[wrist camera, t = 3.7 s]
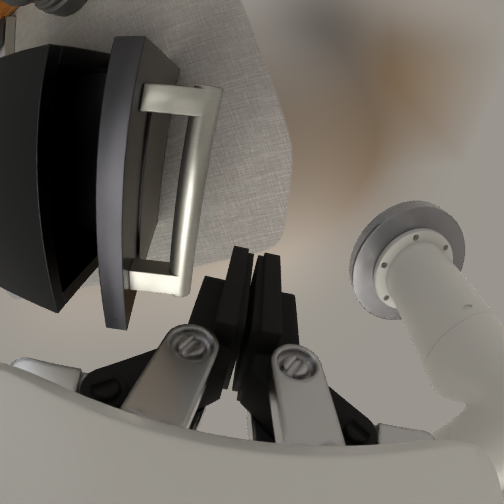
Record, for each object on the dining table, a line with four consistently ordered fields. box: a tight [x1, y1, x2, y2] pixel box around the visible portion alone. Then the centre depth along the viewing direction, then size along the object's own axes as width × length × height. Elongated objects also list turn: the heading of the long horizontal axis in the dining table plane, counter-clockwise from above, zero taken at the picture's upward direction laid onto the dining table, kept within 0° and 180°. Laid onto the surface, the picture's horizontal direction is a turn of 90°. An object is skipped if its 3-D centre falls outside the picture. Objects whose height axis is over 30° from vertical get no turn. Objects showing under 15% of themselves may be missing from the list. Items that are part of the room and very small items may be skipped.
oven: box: [0, 44, 111, 313], centre depth 21 cm, size 18×18×18 cm
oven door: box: [96, 36, 224, 330], centre depth 22 cm, size 6×18×18 cm, turn 168°
